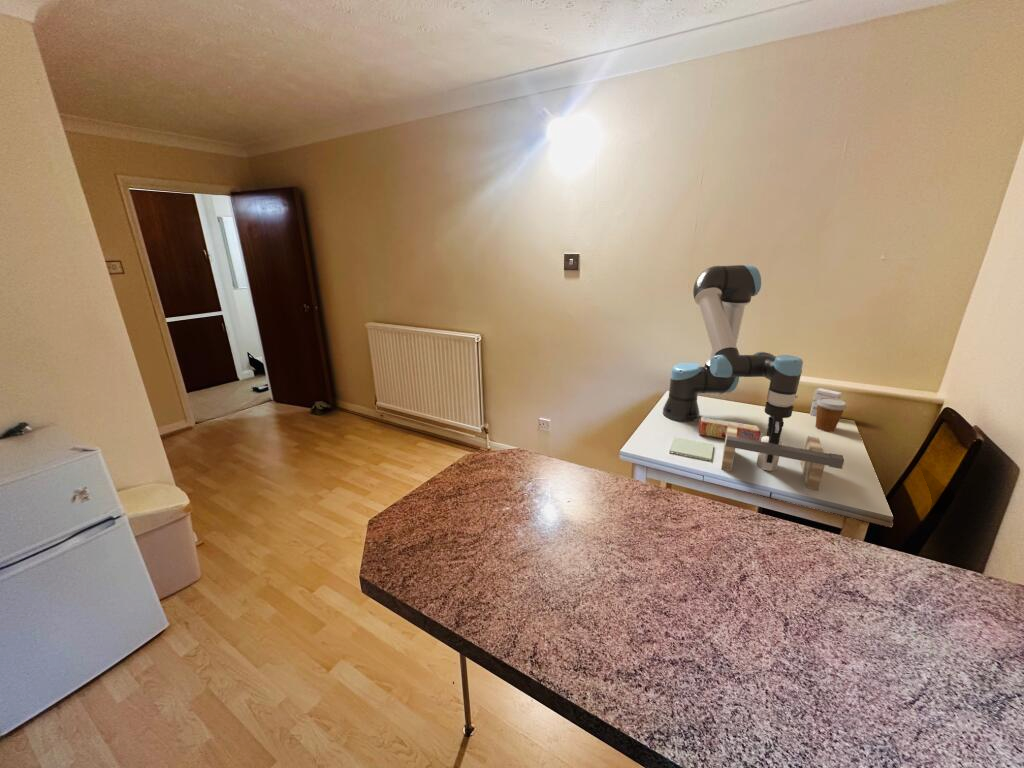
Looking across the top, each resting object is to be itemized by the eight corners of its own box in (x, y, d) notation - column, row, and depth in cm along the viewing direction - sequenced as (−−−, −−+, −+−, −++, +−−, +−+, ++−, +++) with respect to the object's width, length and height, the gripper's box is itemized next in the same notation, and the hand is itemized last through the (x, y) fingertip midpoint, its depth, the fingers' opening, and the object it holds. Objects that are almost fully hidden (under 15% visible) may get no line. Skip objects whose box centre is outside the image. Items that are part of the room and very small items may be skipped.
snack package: (757, 438, 157) (760, 423, 155) (758, 446, 152) (762, 430, 150) (698, 429, 166) (700, 414, 164) (697, 436, 161) (699, 420, 158)
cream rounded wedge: (756, 460, 142) (761, 434, 139) (776, 464, 139) (781, 438, 136) (756, 468, 137) (761, 442, 134) (777, 472, 134) (783, 445, 131)
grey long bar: (725, 442, 132) (727, 434, 131) (839, 464, 118) (842, 455, 117) (725, 446, 130) (727, 438, 129) (841, 468, 116) (844, 459, 115)
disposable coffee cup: (814, 431, 162) (821, 404, 158) (808, 422, 170) (814, 395, 166) (843, 435, 158) (851, 407, 154) (835, 425, 167) (842, 398, 163)
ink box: (836, 417, 173) (843, 392, 169) (832, 420, 170) (839, 395, 167) (813, 411, 180) (819, 387, 176) (809, 414, 177) (815, 389, 173)
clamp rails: (723, 448, 150) (728, 422, 147) (811, 465, 138) (818, 437, 134) (721, 469, 137) (726, 441, 133) (818, 489, 124) (826, 459, 121)
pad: (674, 439, 158) (674, 436, 158) (713, 446, 152) (713, 444, 151) (669, 452, 148) (669, 450, 148) (710, 461, 142) (711, 458, 142)
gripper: (796, 415, 121) (781, 481, 129) (791, 395, 136) (777, 455, 144) (767, 411, 124) (754, 475, 132) (765, 392, 140) (753, 450, 148)
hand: (766, 465), depth 138 cm, fingers closed on cream rounded wedge, 6 cm apart
